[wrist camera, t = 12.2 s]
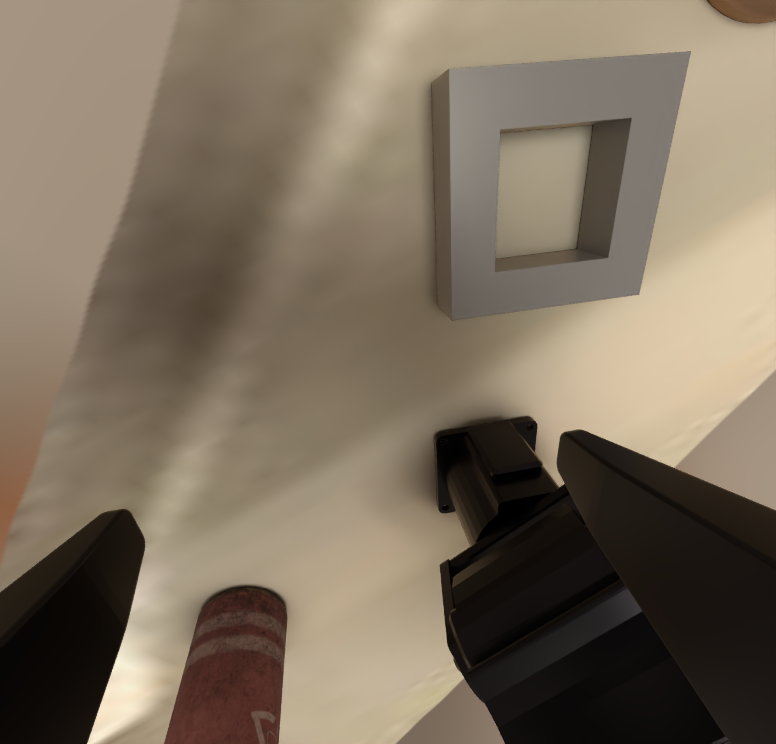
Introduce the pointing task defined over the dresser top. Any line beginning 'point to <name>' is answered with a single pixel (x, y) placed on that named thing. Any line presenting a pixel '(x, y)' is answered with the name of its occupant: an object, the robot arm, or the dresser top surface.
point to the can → (233, 672)
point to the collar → (602, 189)
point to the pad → (747, 10)
